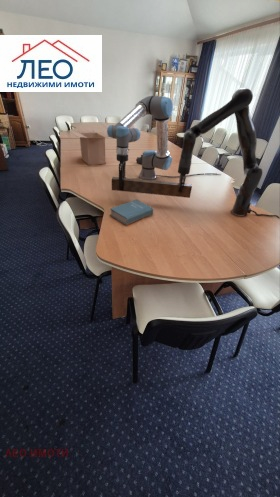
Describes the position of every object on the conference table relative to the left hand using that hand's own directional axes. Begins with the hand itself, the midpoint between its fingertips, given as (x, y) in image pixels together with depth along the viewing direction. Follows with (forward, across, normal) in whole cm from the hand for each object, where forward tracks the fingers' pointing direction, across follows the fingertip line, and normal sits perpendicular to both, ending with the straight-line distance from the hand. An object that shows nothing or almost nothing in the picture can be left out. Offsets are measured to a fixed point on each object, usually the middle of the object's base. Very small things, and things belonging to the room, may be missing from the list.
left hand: (122, 189), depth 155 cm
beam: (+1, 0, -20) cm, 20 cm away
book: (+9, -20, -10) cm, 24 cm away
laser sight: (+10, +100, -9) cm, 101 cm away
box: (+10, +92, +47) cm, 104 cm away
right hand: (-3, 0, -40) cm, 40 cm away
